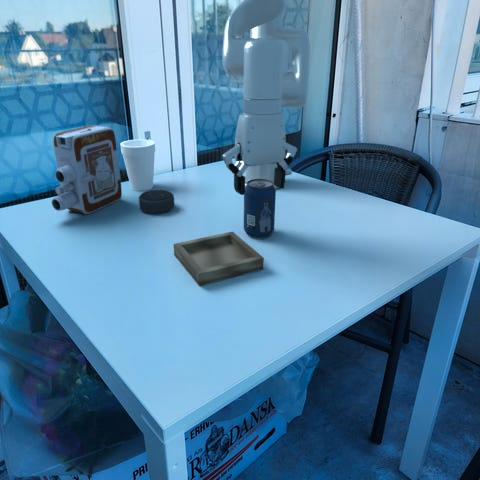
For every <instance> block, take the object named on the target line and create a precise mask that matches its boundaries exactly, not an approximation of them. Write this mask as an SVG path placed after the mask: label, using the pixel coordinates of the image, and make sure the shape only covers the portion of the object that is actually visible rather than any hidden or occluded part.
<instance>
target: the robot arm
mask: <svg viewBox="0 0 480 480" xmlns="http://www.w3.org/2000/svg"><path fill="white" fill-rule="evenodd" d="M286 3H287V0H242V1H241V2H240V3H239V4H238V5H237V6H236V7H235V8H234V10H232V12H231V13H230V15H229V17H228V18H227V21H226V23H225V26H224V31H223V43H222V54H221V55H222V67H223V70H224V72H225V74H227V75H228V76H229V77H232V78H241V79H242V78H243V94H242V95H243V96H242V97H243V99H242V102H243V103H242V104H243V105H242V106H243V108H242V111H243V113H241V114H239V115H238V119H237V125H236V129H235V130H236V131H235V137H234V138H235V139H234V140H235V141H234V146H233V147H232V148H230V149H229V150H227V151H226V152H225V153H223V154H222V156H221V158H222V160H223V162H224V164H225V166H226V168H227V169H228V170H229V171H230V172H231V173H232V175H233V189H234V190H235V192H236V193H237V194H239V195H241V196H244V194H245V187H246V186H247V182H248V181H249V180H253V179H266V180H270V181H272V182H273V186H274V188H275V190H276V189H284V188H285V183H286V176H291V175H292V173H293V171H292V169H291V168H289V166H290V165H291V164H292V163H293V161H294V157H295V155H296V153H297V151H298V148H297V147H296V146H294V145H292V144H290V143H288V142H286V141H287V140H286V127H285V125H286V124H285V119H284V114H283V113H282V109H286V110H287V109H288V110H289V109H291V110H292V109H293V110H295V109H301V108H303V107H305V105H306V103H307V100H308V95H309V93H308V92H309V77H310V53H311V52H310V50H311V49H310V48H311V47H310V46H311V45H310V37H309V34H308V32H307V31H306V30H305V29H303V28H298V27H283V14H284V10H285V8H286ZM246 32H249V37H242V35H244V34H245V33H246ZM289 70H291V71H289ZM286 151H287V152H286ZM233 158H234V161H236V163H235V164H234V162H233ZM244 173H245V175H244Z"/></svg>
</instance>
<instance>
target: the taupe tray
mask: <svg viewBox="0 0 480 480" xmlns="http://www.w3.org/2000/svg"><path fill="white" fill-rule="evenodd" d="M173 255H174V256H175V258H176V259H177V260H178V261H179V263H180V264H181V265H182V267H183V268H184V269H185V271H186V272H187V273H188V274H189V275H190V276H191V277H192V280H194V281H195V283H196V285H198V287H201V286H204V285H205V286H206V285H209V284H212V283H216V282H219V281H223V280H227V279H231V278H235V277H239V276H243V275H246V274H251V273H254V271H255V272H259V271H262V270H264V269H265V268H264V267H265V265H264V263H265V262H264V261H265V259H264V257H263V256H262V255H261V254H260V253H259V252H257V251H256V250H255V249H254V248H253V247H252V246H250V245H249V244H248V243H247V242H246V241H244V239H242V238H241V237H240V236H239V235H238V234H236V233H235V232H234V231H228V232H224V233H220V234H219V233H218V234H214V235H210V236H209V235H208V236H205V237H200V238H195V239H190V240H185V241H181V242H177V243H173ZM258 270H259V271H258Z"/></svg>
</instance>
